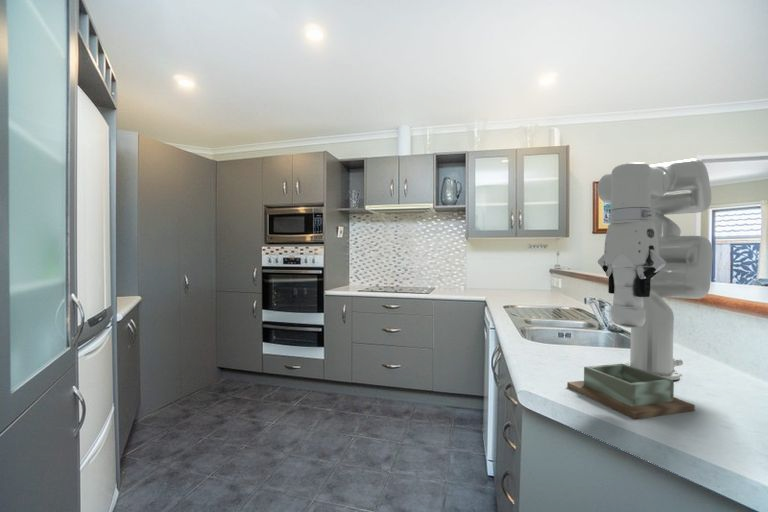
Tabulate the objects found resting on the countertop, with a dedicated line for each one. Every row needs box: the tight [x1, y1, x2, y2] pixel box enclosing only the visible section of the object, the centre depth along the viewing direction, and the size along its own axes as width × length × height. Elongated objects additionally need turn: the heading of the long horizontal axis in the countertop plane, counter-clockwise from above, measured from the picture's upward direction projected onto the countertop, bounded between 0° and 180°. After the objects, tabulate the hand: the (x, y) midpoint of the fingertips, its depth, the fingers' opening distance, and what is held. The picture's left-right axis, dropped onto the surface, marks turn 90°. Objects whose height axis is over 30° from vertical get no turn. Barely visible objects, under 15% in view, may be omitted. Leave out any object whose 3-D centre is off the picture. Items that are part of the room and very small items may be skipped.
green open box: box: [566, 363, 696, 420], centre depth 78 cm, size 17×17×6 cm
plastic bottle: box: [610, 254, 646, 329], centre depth 78 cm, size 6×7×20 cm
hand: (628, 294), depth 78 cm, fingers closed on plastic bottle, 6 cm apart
